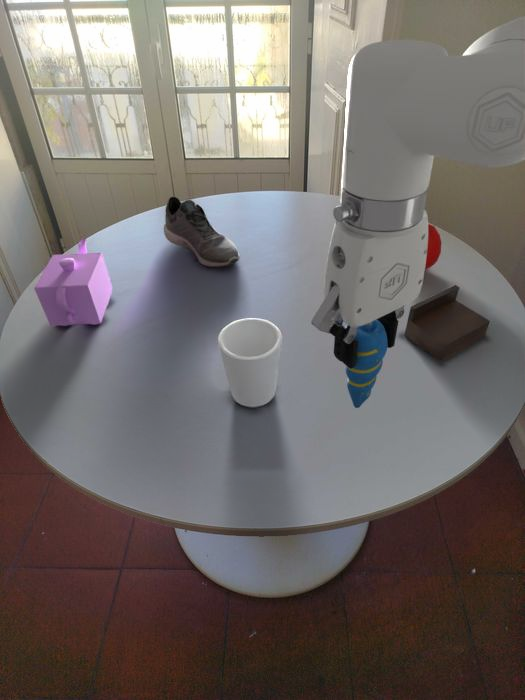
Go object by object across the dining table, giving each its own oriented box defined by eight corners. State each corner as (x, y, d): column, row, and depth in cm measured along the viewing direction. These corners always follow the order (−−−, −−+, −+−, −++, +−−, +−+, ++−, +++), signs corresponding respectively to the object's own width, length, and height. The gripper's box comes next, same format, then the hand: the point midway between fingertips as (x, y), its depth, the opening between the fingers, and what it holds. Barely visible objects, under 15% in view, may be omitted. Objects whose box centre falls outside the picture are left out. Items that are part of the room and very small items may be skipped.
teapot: (99, 337, 93) (81, 284, 84) (49, 339, 93) (25, 287, 84) (119, 280, 108) (105, 231, 99) (75, 282, 108) (58, 233, 99)
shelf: (484, 337, 89) (495, 307, 84) (440, 362, 85) (449, 332, 80) (447, 313, 95) (455, 284, 90) (404, 335, 90) (410, 306, 86)
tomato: (431, 255, 111) (441, 211, 104) (440, 282, 103) (452, 237, 95) (380, 254, 112) (386, 210, 105) (384, 281, 104) (392, 236, 96)
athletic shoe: (216, 279, 107) (210, 231, 99) (160, 238, 122) (151, 193, 114) (251, 263, 111) (248, 216, 103) (192, 225, 126) (186, 182, 118)
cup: (244, 366, 85) (240, 310, 77) (292, 385, 82) (293, 328, 73) (213, 402, 79) (205, 346, 71) (263, 424, 75) (261, 367, 67)
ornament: (332, 415, 60) (338, 324, 50) (342, 387, 64) (350, 297, 54) (372, 425, 59) (387, 334, 49) (380, 396, 62) (396, 305, 52)
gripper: (334, 249, 37) (326, 402, 49) (478, 191, 43) (439, 339, 56) (281, 215, 42) (285, 362, 54) (418, 168, 48) (394, 309, 60)
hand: (363, 349), depth 55 cm, fingers closed on ornament, 5 cm apart
